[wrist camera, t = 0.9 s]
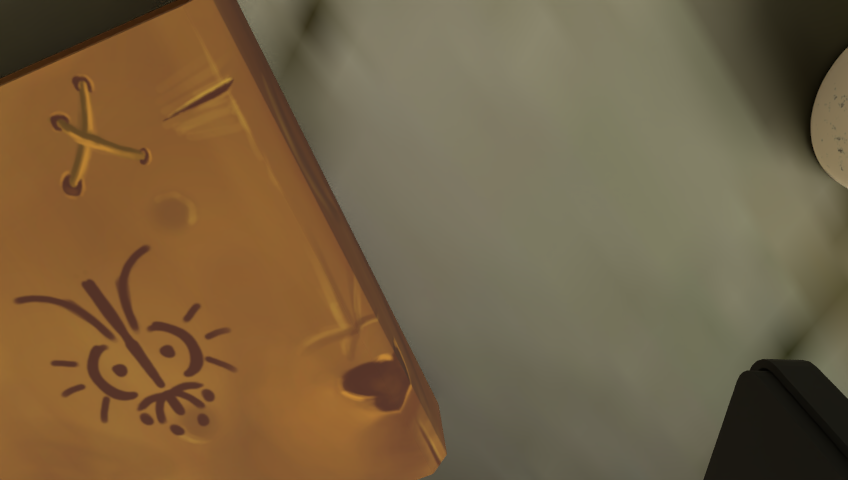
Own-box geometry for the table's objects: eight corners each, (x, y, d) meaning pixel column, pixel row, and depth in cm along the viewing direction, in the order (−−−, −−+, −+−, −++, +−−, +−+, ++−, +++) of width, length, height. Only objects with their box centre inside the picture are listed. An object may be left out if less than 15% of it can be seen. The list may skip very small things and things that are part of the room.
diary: (436, 390, 39) (449, 468, 34) (128, 506, 41) (97, 597, 36) (228, -26, 29) (203, -3, 24) (-172, 152, 31) (-276, 209, 26)
